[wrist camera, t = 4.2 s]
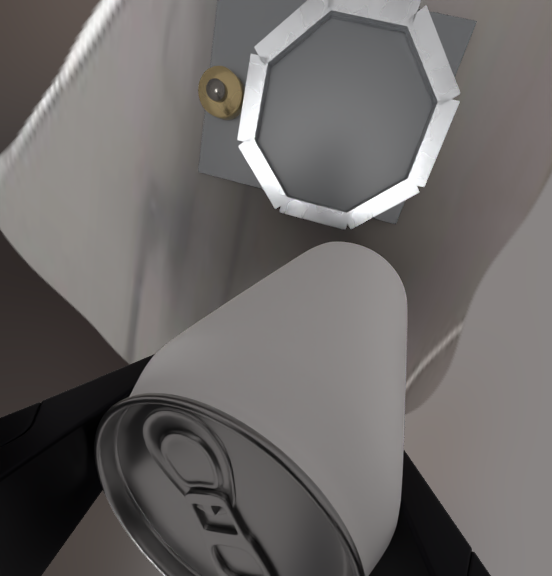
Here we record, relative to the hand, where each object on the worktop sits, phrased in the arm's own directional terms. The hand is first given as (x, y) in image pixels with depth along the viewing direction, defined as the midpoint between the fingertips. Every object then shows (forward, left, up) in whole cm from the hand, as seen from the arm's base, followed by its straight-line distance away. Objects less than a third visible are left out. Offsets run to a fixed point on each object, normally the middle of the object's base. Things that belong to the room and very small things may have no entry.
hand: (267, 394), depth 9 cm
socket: (+9, 0, -13) cm, 16 cm away
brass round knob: (+9, +7, -13) cm, 17 cm away
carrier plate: (+9, +2, -13) cm, 16 cm away
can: (0, -2, -8) cm, 8 cm away
